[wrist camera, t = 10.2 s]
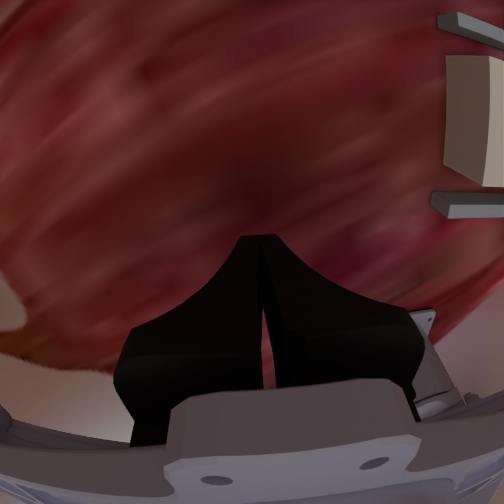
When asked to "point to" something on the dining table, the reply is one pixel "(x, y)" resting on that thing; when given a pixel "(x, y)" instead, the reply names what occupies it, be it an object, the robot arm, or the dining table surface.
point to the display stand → (468, 201)
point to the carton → (475, 118)
